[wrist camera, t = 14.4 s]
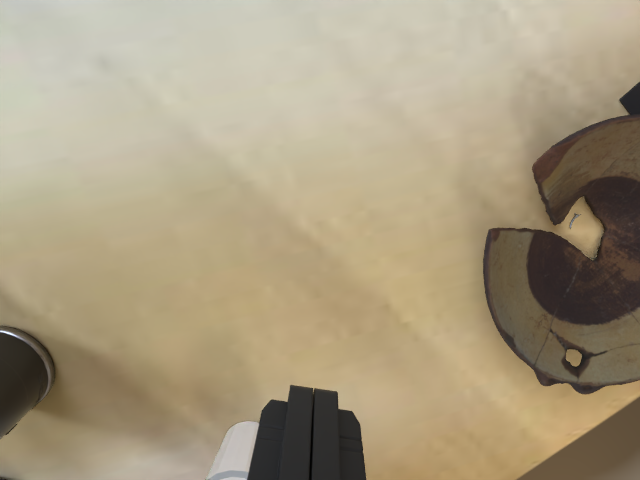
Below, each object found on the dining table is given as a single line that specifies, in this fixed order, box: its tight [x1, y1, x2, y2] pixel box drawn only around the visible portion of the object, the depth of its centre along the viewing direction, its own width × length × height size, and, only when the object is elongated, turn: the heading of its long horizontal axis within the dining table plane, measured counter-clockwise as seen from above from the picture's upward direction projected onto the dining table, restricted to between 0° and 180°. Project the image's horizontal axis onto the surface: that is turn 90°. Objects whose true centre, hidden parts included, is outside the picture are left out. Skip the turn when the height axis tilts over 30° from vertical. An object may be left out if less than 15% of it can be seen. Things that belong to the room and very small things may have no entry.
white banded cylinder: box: [205, 421, 259, 480], centre depth 41 cm, size 7×7×7 cm
